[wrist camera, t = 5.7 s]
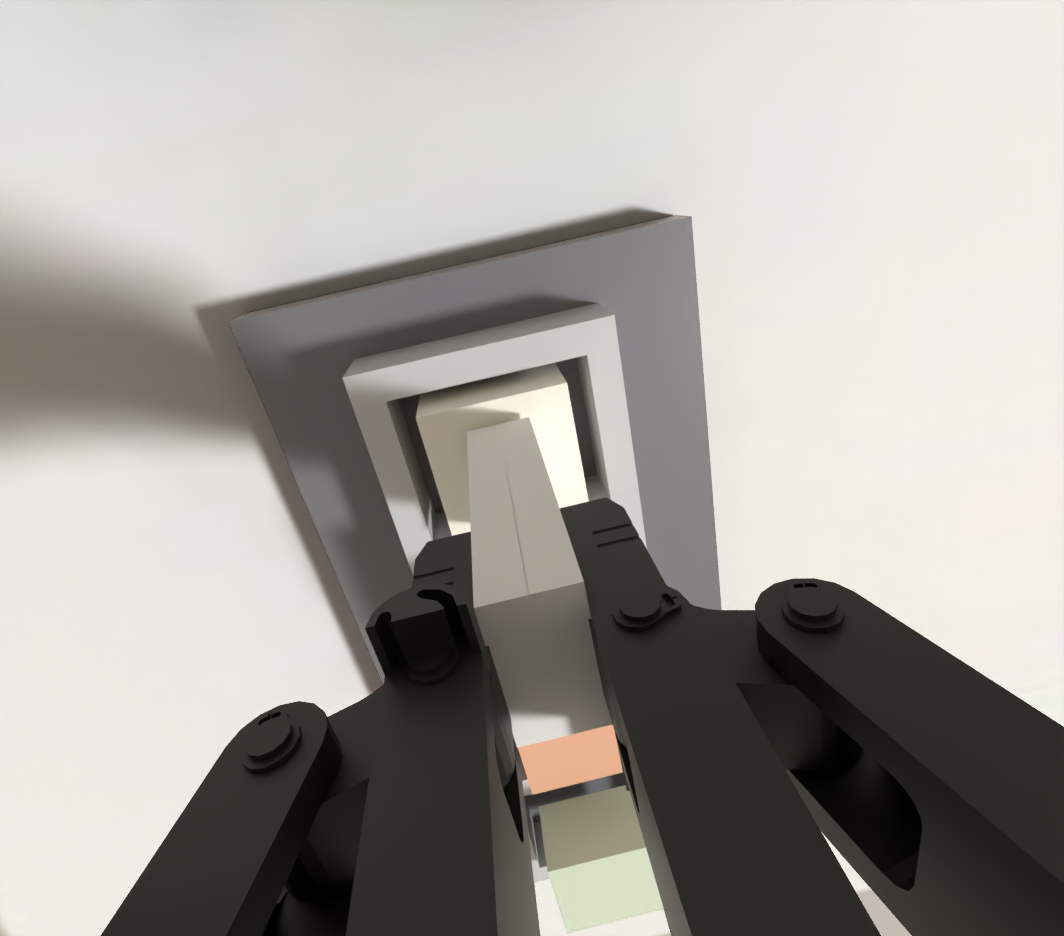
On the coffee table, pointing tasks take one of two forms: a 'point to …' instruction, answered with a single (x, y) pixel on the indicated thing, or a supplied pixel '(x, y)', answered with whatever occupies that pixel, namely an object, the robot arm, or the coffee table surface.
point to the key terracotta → (571, 759)
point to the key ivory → (492, 404)
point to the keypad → (487, 351)
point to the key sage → (598, 859)
